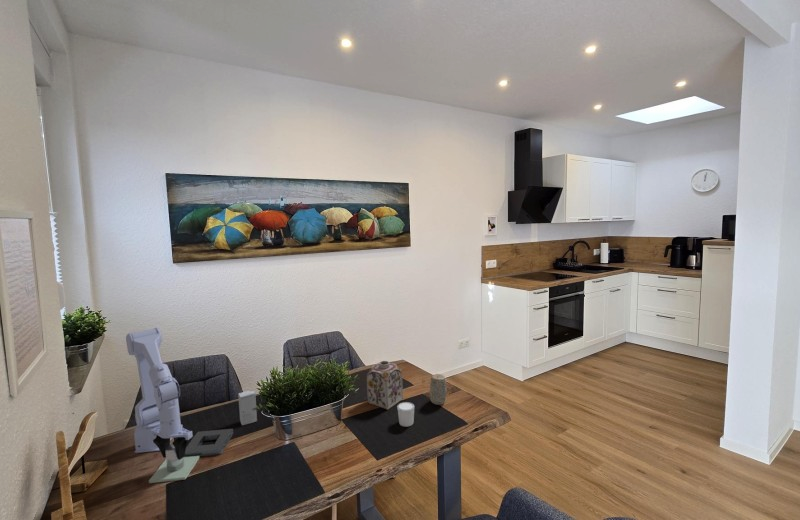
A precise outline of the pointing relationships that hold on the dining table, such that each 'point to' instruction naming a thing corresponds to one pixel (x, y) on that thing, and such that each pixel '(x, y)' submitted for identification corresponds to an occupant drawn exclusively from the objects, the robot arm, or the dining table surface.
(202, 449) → the bore plate
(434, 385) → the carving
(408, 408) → the white cup
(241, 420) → the skincare box
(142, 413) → the robot arm
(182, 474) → the sage pad
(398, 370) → the decorative jar
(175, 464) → the translucent grey cylinder
